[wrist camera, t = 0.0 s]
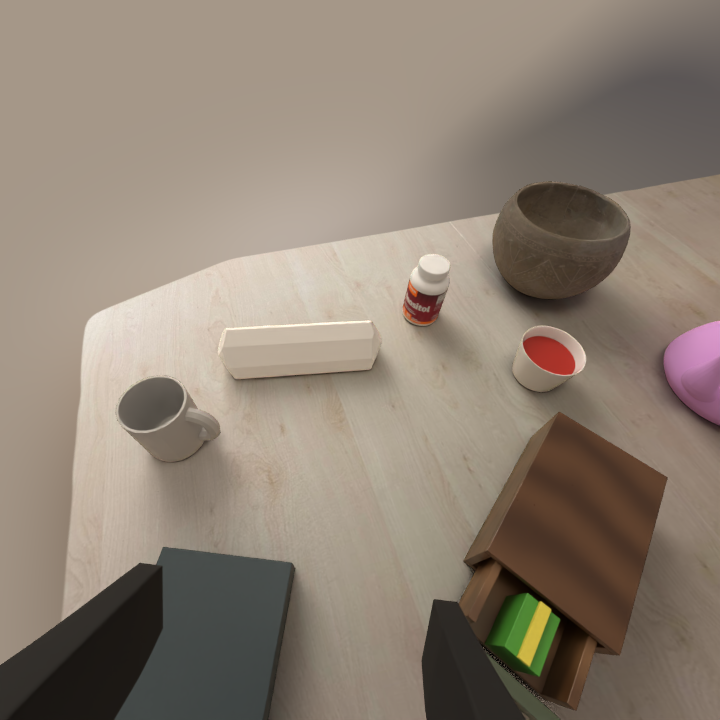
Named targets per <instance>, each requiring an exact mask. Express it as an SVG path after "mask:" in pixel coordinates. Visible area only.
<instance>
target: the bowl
mask: <svg viewBox="0 0 720 720" xmlns="http://www.w3.org/2000/svg"><path fill="white" fill-rule="evenodd" d="M630 227H631V226H630V220H629V218H628V216H627V214H626V213H625V211H624V210H623V209H622V208H621V207H620V206H619V204H617V203H616V202H614V201H613V200H612V199H610V198H608V197H606V196H604V195H602V194H600V193H598V192H596V191H594V190H591V189H588V188H585V187H582V186H577V185H573V184H568V183H562V182H551V181H548V182H539V183H533V184H529V185H527V186H525V187H523V188H521V189H520V190H519V191H518V192H516V193H515V194H514V195H513V196H512V197H511V198H510V199H509V200H508V201H507V203H506V204H505V205H504V207H503V209H502V211H501V212H500V214H499V217H498V219H497V221H496V224H495V227H494V231H493V253H494V258H495V262H496V264H497V267H498V269H499V271H500V273H501V274H502V276H503V277H504V279H505V280H506V281H507V282H508V283H509V284H510V285H511V286H512V287H514V288H515V289H516V290H518V291H520V292H522V293H524V294H526V295H529V296H532V297H536V298H542V299H561V298H567V297H571V296H575V295H577V294H580V293H583V292H585V291H587V290H589V289H591V288H593V287H595V286H596V285H597V284H599V283H600V282H601V281H603V280H604V279H605V278H606V277H607V276H609V274H610V273H611V272H612V271H613V270H614V268H615V267H616V266H617V264H618V263H619V261H620V259H621V258H622V256H623V253H624V251H625V248H626V246H627V243H628V240H629V236H630Z"/></svg>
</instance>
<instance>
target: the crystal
mask: <svg viewBox="0 0 720 720" xmlns="http://www.w3.org/2000/svg"><path fill="white" fill-rule="evenodd" d="M381 344H382V339H381V336H380V333H379V331H378V330H377V328H376V327H375V325H374V324H373V322H372V321H370V320H367V321H348V322H330V323H311V324H293V325H274V326H256V327H237V328H225V329H224V331H223V333H222V335H221V339H220V343H219V348H218V355H219V357H220V359H221V360H222V362H223V364H224V365H225V367H226V368H227V370H228V371H229V372H230V373H231V375H232V376H233V377H234V378H235V379H247V378H260V377H274V376H288V375H302V374H316V373H329V372H343V371H357V370H370V369H371V367H372V365H373V363H374V361H375V358H376V356H377V354H378V351H379V349H380V346H381Z"/></svg>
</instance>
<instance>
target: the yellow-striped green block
mask: <svg viewBox="0 0 720 720" xmlns="http://www.w3.org/2000/svg"><path fill="white" fill-rule="evenodd" d="M559 622H560V618H558V617H557V616H556V615H555V614H553V613H552V612H551V609H550V608H549V607H548V606H547V605H545V604H544V603H543V602H538V601H537V600H536V599H535V598H533V597H532V596H531V595H530V594H529V593H523V594H517V595H510V596H506V598H505V600H504V602H503V604H502V607H501V609H500V611H499V613H498V615H497V618H496V620H495V622H494V624H493V626H492V628H491V631H490V633H489V635H488V637H487V639H486V642H485V645H486V646H487V647H488V648H490V649H491V650H492V651H493V652H494V653H495V654H496V655H497V656H499V657H500V658H501V659H502V660H503V661H504V662H505V663H506V664H508V665H509V666H510V667H511V668H512V669H513V670H515V671H518V672H522V673H526V674H530V675H534V676H538V677H539V676H540V674H541V671H542V669H543V666H544V663H545V660H546V658H547V655H548V652H549V649H550V647H551V644H552V641H553V638H554V636H555V633H556V630H557V627H558V625H559Z"/></svg>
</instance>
